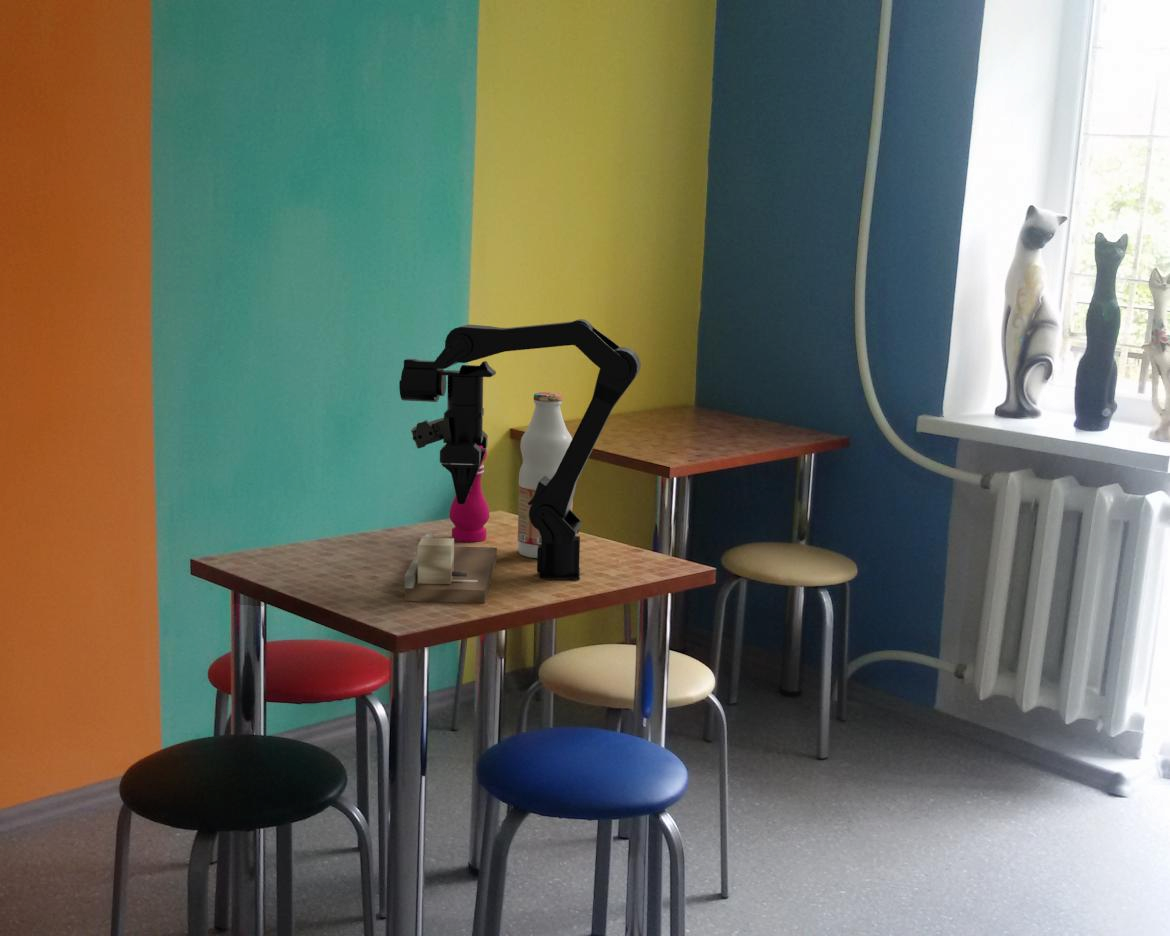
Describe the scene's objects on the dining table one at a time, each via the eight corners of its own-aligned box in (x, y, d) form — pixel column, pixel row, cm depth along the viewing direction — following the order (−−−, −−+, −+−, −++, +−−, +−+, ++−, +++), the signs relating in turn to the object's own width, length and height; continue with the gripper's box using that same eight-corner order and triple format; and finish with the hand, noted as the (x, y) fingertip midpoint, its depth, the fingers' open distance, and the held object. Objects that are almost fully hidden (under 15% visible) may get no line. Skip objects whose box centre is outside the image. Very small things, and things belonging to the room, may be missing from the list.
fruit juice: (506, 553, 239) (509, 393, 235) (539, 544, 247) (543, 389, 242) (549, 562, 234) (553, 398, 229) (582, 553, 242) (586, 393, 237)
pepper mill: (451, 543, 246) (452, 432, 243) (447, 534, 253) (448, 426, 250) (491, 542, 248) (493, 432, 244) (486, 533, 255) (487, 426, 251)
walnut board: (496, 558, 236) (497, 536, 235) (484, 603, 208) (484, 577, 207) (426, 557, 236) (426, 534, 235) (404, 600, 208) (404, 575, 207)
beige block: (467, 576, 215) (468, 538, 214) (465, 584, 210) (465, 546, 209) (421, 575, 215) (421, 537, 214) (417, 583, 210) (417, 544, 209)
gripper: (422, 395, 232) (421, 486, 235) (407, 409, 214) (407, 508, 216) (488, 396, 232) (486, 488, 235) (479, 411, 214) (478, 510, 216)
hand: (463, 498), depth 226 cm, fingers open, 9 cm apart
